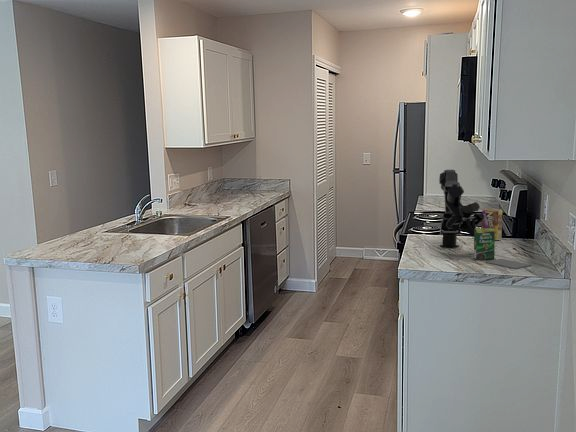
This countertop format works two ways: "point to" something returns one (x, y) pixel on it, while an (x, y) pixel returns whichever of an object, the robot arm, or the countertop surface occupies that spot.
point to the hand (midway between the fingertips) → (476, 236)
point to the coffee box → (484, 243)
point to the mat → (508, 263)
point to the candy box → (493, 221)
